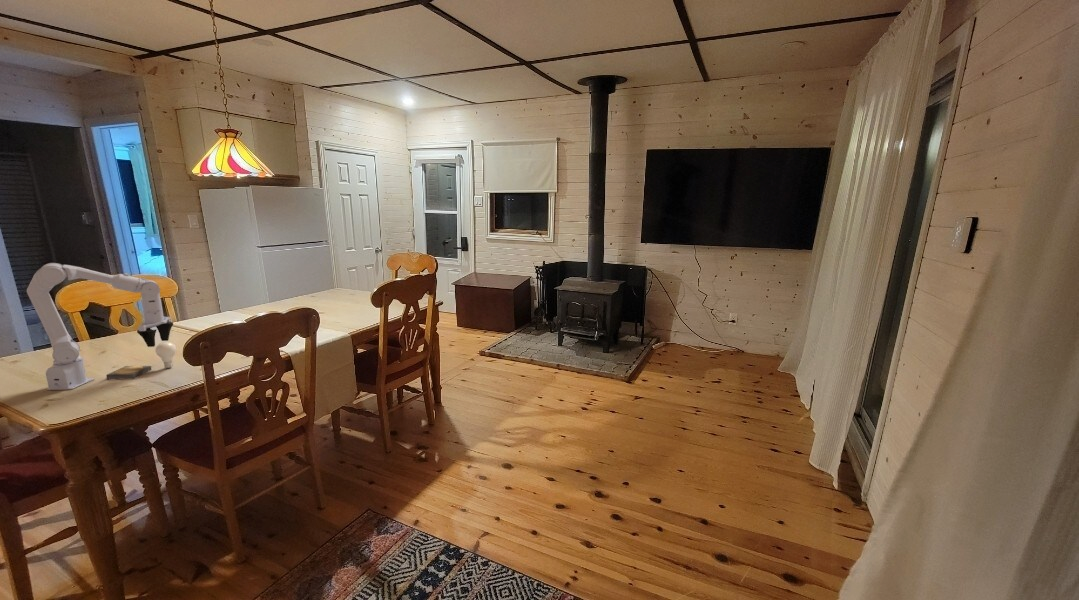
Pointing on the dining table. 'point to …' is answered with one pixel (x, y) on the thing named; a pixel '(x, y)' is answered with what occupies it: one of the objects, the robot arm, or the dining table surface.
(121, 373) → the charcoal base
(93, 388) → the dining table surface
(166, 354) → the lightbulb
